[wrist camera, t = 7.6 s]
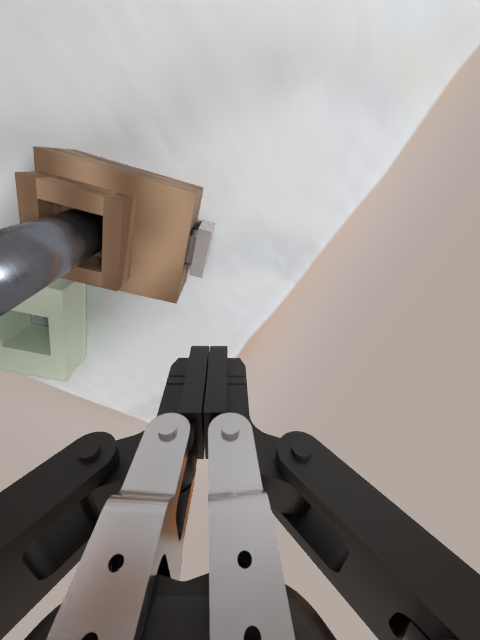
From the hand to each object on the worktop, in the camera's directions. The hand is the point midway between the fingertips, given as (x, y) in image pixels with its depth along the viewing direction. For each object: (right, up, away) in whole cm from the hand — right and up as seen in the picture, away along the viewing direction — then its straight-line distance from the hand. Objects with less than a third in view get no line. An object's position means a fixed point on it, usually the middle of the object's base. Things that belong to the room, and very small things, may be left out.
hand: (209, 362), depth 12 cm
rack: (-21, +3, +22) cm, 31 cm away
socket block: (-9, +12, +17) cm, 23 cm away
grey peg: (-11, +9, +11) cm, 18 cm away
